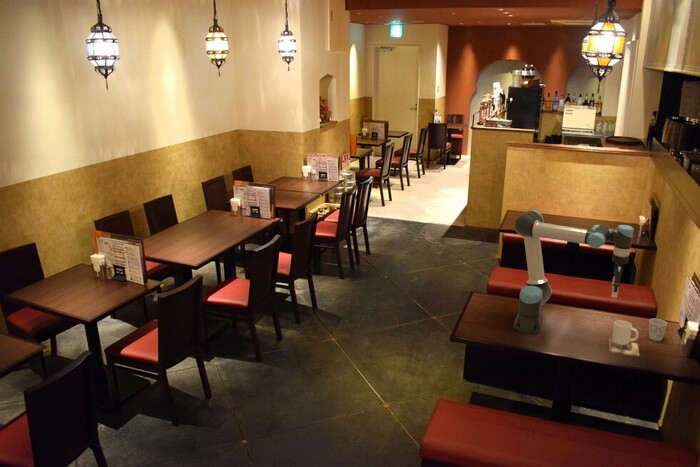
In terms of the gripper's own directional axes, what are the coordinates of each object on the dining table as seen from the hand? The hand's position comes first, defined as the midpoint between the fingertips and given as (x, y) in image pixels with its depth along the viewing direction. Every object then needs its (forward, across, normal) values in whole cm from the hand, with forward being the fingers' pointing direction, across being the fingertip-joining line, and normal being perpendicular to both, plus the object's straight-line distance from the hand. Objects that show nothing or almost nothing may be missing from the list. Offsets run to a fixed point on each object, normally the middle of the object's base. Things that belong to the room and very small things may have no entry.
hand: (614, 292), depth 296 cm
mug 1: (+24, -8, -8) cm, 26 cm away
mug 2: (+27, +13, -25) cm, 39 cm away
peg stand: (+27, -8, -9) cm, 29 cm away
